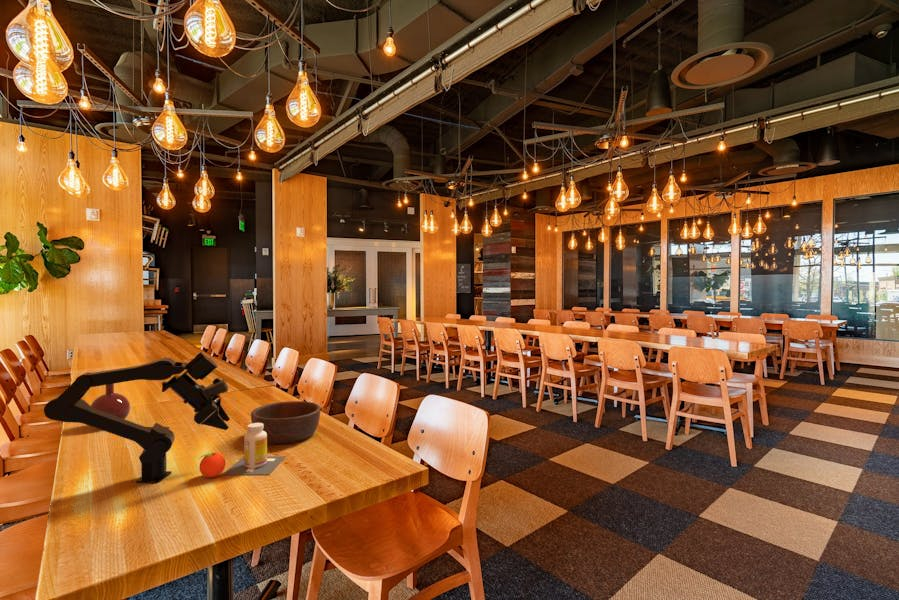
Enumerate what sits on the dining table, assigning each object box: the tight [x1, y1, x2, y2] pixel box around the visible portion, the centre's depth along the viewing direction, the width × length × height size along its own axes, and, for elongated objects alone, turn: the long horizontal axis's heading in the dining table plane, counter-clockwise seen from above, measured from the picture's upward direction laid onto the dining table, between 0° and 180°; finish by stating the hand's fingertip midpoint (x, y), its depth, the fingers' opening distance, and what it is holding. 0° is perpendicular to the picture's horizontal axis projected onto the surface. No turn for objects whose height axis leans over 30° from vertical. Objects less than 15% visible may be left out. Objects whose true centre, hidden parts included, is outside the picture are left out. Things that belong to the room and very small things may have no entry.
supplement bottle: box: [243, 422, 268, 468], centre depth 136 cm, size 7×7×13 cm
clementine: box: [198, 452, 226, 478], centre depth 128 cm, size 8×7×7 cm
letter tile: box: [222, 455, 287, 476], centre depth 137 cm, size 14×14×1 cm
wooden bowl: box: [250, 400, 322, 445], centre depth 164 cm, size 25×25×10 cm
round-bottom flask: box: [89, 383, 131, 420], centre depth 173 cm, size 13×13×20 cm
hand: (228, 424), depth 135 cm, fingers open, 9 cm apart
